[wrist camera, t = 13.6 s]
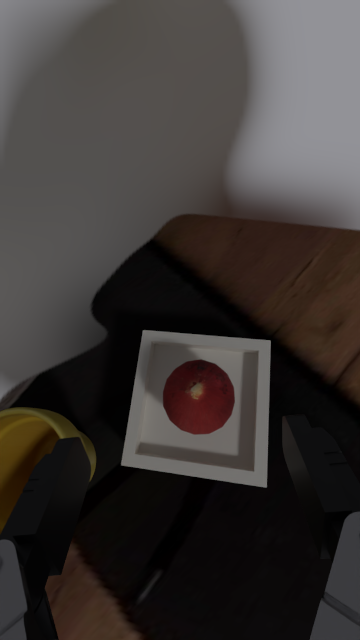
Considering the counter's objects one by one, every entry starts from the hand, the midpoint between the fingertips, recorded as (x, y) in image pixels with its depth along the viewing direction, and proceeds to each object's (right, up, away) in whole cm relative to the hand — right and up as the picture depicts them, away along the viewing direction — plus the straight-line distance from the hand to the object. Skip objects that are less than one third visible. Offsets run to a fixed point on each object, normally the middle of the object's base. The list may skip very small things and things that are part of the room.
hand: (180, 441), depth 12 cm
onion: (+2, -3, +16) cm, 16 cm away
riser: (+2, -4, +21) cm, 21 cm away
